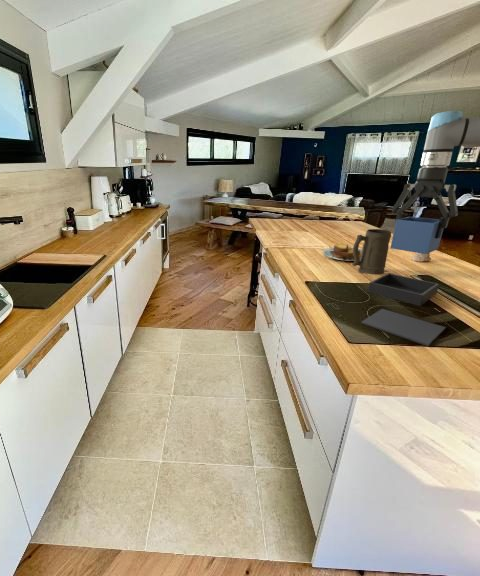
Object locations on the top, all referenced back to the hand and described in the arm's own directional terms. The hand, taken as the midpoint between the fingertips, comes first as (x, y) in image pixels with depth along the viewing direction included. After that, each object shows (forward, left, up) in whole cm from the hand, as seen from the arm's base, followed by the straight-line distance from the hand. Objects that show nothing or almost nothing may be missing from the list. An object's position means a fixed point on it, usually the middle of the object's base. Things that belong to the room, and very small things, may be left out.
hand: (417, 235), depth 108 cm
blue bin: (0, 0, -5) cm, 5 cm away
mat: (-8, +22, -24) cm, 34 cm away
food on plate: (+42, -43, -24) cm, 65 cm away
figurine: (+14, -65, -24) cm, 71 cm away
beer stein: (+23, -23, -24) cm, 41 cm away
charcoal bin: (+2, -5, -24) cm, 25 cm away
